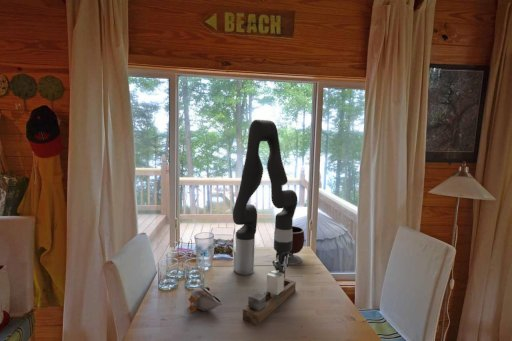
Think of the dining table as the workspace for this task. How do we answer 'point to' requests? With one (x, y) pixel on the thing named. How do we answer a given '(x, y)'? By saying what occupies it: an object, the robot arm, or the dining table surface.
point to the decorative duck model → (203, 300)
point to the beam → (265, 303)
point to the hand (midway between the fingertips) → (281, 278)
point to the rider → (275, 283)
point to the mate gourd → (296, 244)
